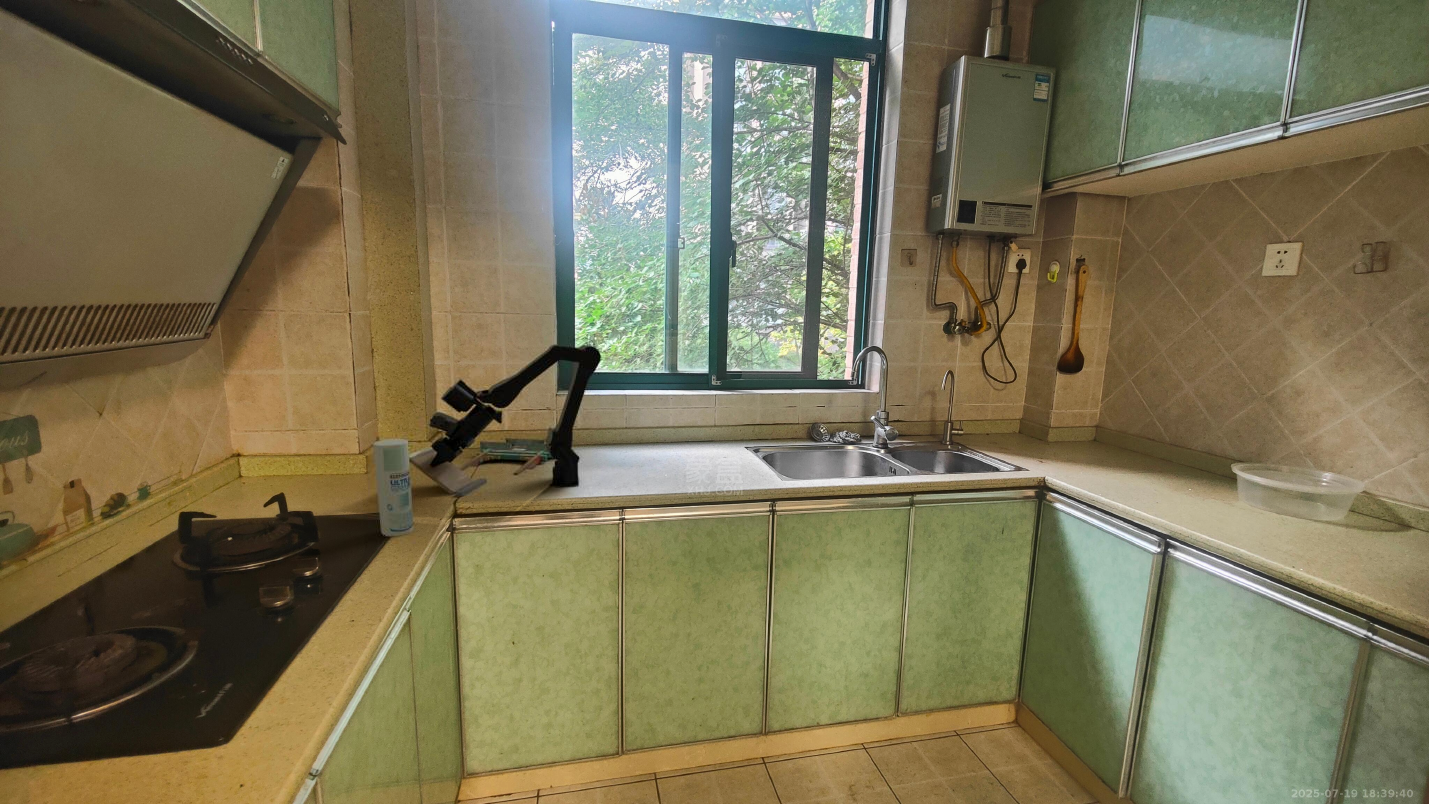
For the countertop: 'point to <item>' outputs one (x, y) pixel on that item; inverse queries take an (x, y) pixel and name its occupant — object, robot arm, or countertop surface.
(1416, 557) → the countertop surface
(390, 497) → the spray can
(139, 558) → the countertop surface
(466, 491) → the base
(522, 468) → the miniature gate
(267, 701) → the countertop surface
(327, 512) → the countertop surface
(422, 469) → the fence panel
